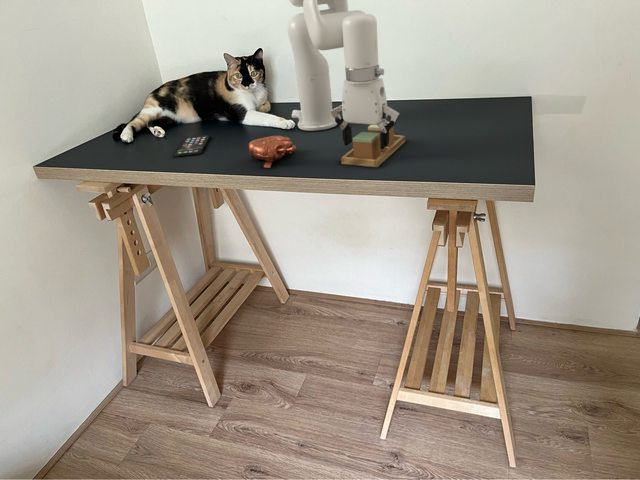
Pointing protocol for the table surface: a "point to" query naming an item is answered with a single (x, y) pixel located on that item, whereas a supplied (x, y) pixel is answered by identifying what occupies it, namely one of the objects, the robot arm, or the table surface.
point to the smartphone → (192, 145)
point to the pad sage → (367, 145)
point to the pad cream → (377, 130)
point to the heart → (271, 149)
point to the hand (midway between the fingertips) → (366, 145)
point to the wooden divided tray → (385, 153)
